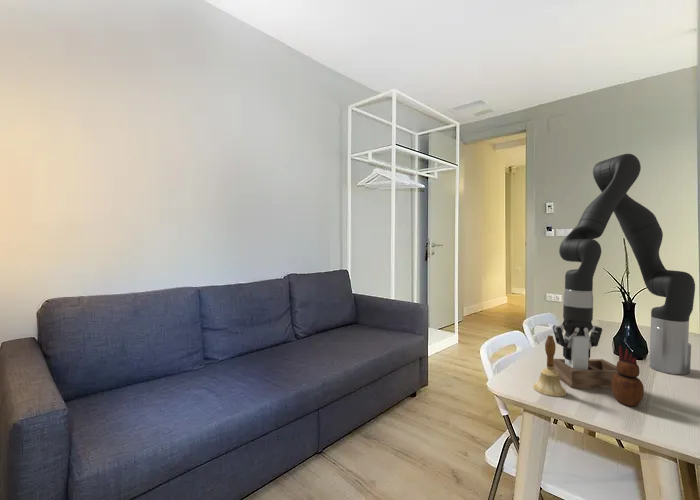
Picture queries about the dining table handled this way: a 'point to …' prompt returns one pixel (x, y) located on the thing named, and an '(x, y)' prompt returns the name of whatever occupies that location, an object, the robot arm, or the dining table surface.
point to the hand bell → (550, 374)
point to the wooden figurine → (627, 380)
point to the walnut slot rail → (586, 374)
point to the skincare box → (579, 353)
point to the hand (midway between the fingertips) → (576, 359)
